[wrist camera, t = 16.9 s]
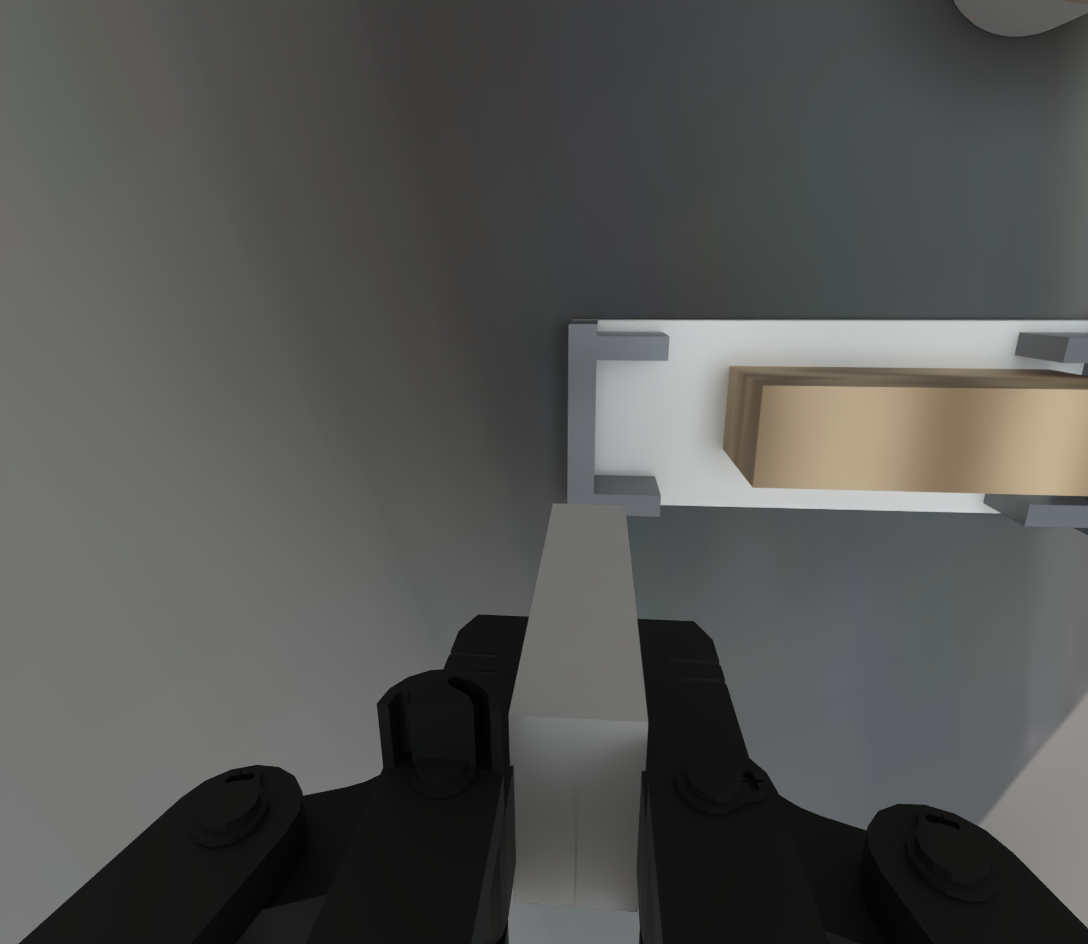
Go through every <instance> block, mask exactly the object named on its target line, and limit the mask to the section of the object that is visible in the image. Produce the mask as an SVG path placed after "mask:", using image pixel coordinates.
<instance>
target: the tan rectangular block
mask: <svg viewBox="0 0 1088 944" xmlns="http://www.w3.org/2000/svg"><path fill="white" fill-rule="evenodd" d="M723 450H724V451H725V453H726V454H727V455H728V457H729V458H730V459H731V460H732V462H733V463H734V464H735V466H736V467H737V468H738V469H739V471H740V472H741V473H742V475H743V476H744V477H745V479H746V480H747V481H748V482H749V484H750V485H751V486H752V488H788V489H827V490H865V491H904V492H942V493H981V494H1019V495H1058V496H1088V376H1084V375H1078V374H1073V373H1067V372H1061V371H1056V370H1050V369H973V368H878V367H784V366H730V371H729V383H728V394H727V406H726V417H725V429H724V440H723Z"/></svg>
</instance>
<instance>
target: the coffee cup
mask: <svg viewBox="0 0 1088 944" xmlns="http://www.w3.org/2000/svg"><path fill="white" fill-rule="evenodd" d="M953 1H954V3H955V4H956V6H957V7H958V9H959V10H960V12H961V13H962V14H963V15H964V16H965V17H966V18H967V19H968V20H969V21H970V22H972V23H973V24H974V25H976V26H977V27H979V28H981V29H983V30H985V31H987V32H990V33H993V34H996V35H1001V36H1009V37H1021V36H1029V35H1034V34H1039V33H1042V32H1045V31H1048V30H1051V29H1053V28H1055V27H1058V26H1060V25H1062V24H1064V23H1067V22H1069V21H1071V20H1073V19H1076V18H1078V17H1080V16H1082V15H1085V14H1087V13H1088V0H953Z"/></svg>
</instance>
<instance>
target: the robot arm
mask: <svg viewBox="0 0 1088 944" xmlns="http://www.w3.org/2000/svg"><path fill="white" fill-rule="evenodd" d="M377 710H378V720H379V729H380V739H381V749H382V759H383V769H382V772H381V774H380V775H379V776H376V777H374V778H372V779H370V780H368V781H366V782H363V783H359V784H356V785H352V786H349V787H345V788H340V789H335V790H330V791H325V792H320V793H315V794H310V795H305V796H303V794H302V790H301V788H300V786H299V784H298V782H297V780H296V778H295V776H294V775H292V774H290V773H288V772H286V771H285V770H283V769H281V768H279V767H273V766H262V765H254V766H248V767H243V768H237V769H232V770H229V771H227V772H225V773H222V774H220V775H218V776H215V777H213V778H211V779H208V780H206V781H204V782H203V783H201V784H200V785H199V786H197V787H196V788H194V789H193V790H192V791H190V792H189V793H187V794H186V795H185V796H183V797H182V798H180V799H179V800H178V801H177V802H176V803H175V804H174V805H173V806H172V807H170V808H169V809H168V810H167V811H166V812H165V813H164V814H163V815H162V816H160V817H159V818H158V819H157V820H156V821H155V822H154V823H153V824H151V825H150V826H149V827H148V828H147V829H146V830H145V831H144V832H143V833H141V834H140V835H139V836H138V837H137V838H136V839H135V840H134V841H133V842H131V843H130V844H129V845H128V846H127V847H126V848H125V849H124V850H123V851H121V852H120V853H119V854H118V855H117V856H116V857H115V858H114V859H113V860H111V861H110V862H109V863H108V864H107V865H106V866H105V867H104V868H102V869H101V870H100V871H99V872H98V873H97V874H96V875H95V876H94V877H92V878H91V879H90V880H89V881H88V882H87V883H86V884H85V885H84V886H82V887H81V888H80V889H79V890H78V891H77V892H76V893H75V894H74V895H72V896H71V897H70V898H69V899H68V900H67V901H66V902H65V903H64V904H62V905H61V906H60V907H59V908H58V909H57V910H56V911H55V912H53V913H52V914H51V915H50V916H49V917H48V918H47V919H46V920H45V921H43V922H42V923H41V924H40V925H39V926H38V927H37V928H36V929H35V930H33V931H32V932H31V933H30V934H29V935H28V936H27V937H26V938H25V939H23V940H22V941H21V942H20V943H19V944H509V940H508V915H509V908H510V901H511V894H512V887H513V902H519V903H531V904H543V905H555V906H568V907H580V908H592V909H604V910H616V911H629V912H638V903H639V920H640V936H639V944H1088V928H1087V927H1086V926H1085V925H1084V924H1083V923H1082V922H1081V921H1080V920H1079V919H1078V918H1077V917H1076V916H1075V915H1074V914H1073V913H1072V912H1071V911H1070V910H1069V909H1068V908H1067V907H1066V906H1065V905H1064V904H1063V903H1062V902H1061V901H1060V900H1059V899H1058V898H1057V897H1056V896H1055V895H1054V894H1053V893H1052V892H1051V891H1050V890H1049V889H1048V888H1047V887H1046V886H1045V885H1044V884H1043V883H1042V882H1041V881H1040V880H1039V879H1038V878H1037V877H1036V876H1035V875H1034V874H1033V873H1032V872H1031V870H1029V868H1028V867H1026V865H1025V864H1024V863H1023V862H1021V860H1020V859H1019V858H1018V857H1017V856H1016V855H1014V853H1013V852H1011V851H1010V850H1009V849H1008V848H1007V847H1005V846H1004V845H1003V844H1002V843H1000V842H999V841H998V840H997V839H996V838H994V837H993V836H992V835H991V834H989V833H988V832H987V831H986V830H984V829H982V828H980V827H978V826H977V825H975V824H973V823H971V822H969V821H967V820H965V819H963V818H962V817H960V816H958V815H956V814H954V813H950V812H947V811H944V810H940V809H937V808H934V807H930V806H927V805H916V804H896V805H894V806H891V807H888V808H886V809H883V810H880V811H878V812H877V814H876V815H875V817H874V818H873V820H872V821H871V822H870V824H869V825H868V828H867V831H866V830H863V829H860V828H857V827H853V826H850V825H847V824H844V823H841V822H838V821H835V820H832V819H829V818H825V817H822V816H819V815H817V814H815V813H812V812H810V811H807V810H805V809H802V808H800V807H798V806H797V805H795V804H793V803H792V802H790V801H788V800H787V799H785V798H783V797H781V796H780V795H779V794H778V792H777V790H776V788H775V787H774V785H773V783H772V781H771V780H770V778H769V776H768V775H767V773H766V772H765V771H764V770H763V769H761V768H760V767H759V766H758V765H757V764H756V763H754V762H753V761H752V760H751V759H750V758H749V756H748V753H747V749H746V746H745V743H744V740H743V736H742V733H741V730H740V727H739V724H738V720H737V717H736V714H735V711H734V707H733V704H732V701H731V698H730V694H729V691H728V688H727V685H726V684H725V678H724V675H723V672H722V669H721V666H719V659H718V656H717V652H716V649H715V646H714V643H713V640H712V639H711V638H710V637H709V636H708V635H707V634H706V633H705V632H704V631H703V630H702V629H701V628H700V627H699V626H698V625H697V624H696V623H695V622H694V621H673V620H649V619H637V612H636V603H635V594H634V584H633V575H632V566H631V556H630V547H629V538H628V528H627V519H626V510H625V505H594V504H556V503H553V506H552V511H551V516H550V520H549V525H548V530H547V535H546V539H545V544H544V549H543V554H542V558H541V563H540V568H539V573H538V577H537V582H536V587H535V592H534V596H533V601H532V606H531V611H530V615H529V617H523V616H500V615H477V616H476V617H475V618H473V619H472V620H471V621H470V622H469V623H468V624H466V625H465V626H464V627H463V628H462V629H461V630H460V631H459V632H458V634H457V637H456V639H455V642H454V644H453V647H452V649H451V655H449V657H448V659H447V662H446V664H445V667H444V669H443V670H430V671H427V672H423V673H420V674H417V675H414V676H410V677H408V678H406V679H404V680H403V681H401V682H399V683H398V684H396V685H395V686H393V687H391V688H390V689H389V690H388V691H387V692H386V693H385V695H384V696H383V697H382V698H381V699H380V701H379V702H378V703H377Z"/></svg>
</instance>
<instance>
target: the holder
mask: <svg viewBox="0 0 1088 944" xmlns="http://www.w3.org/2000/svg"><path fill="white" fill-rule="evenodd" d="M730 366H784V367H878V368H973V369H1050V370H1056V371H1061V372H1067V373H1073V374H1078V375H1084V376H1088V320H879V319H572V320H571V322H570V323H569V343H568V472H567V504H594V505H625V510H626V516H651V517H660V505H681V506H722V507H762V508H803V509H844V510H884V511H925V512H966V513H1002V514H1003V515H1005V516H1007V517H1009V518H1011V519H1012V520H1014V521H1016V522H1018V523H1020V524H1021V525H1023V526H1034V527H1072V528H1075V529H1077V530H1079V531H1081V532H1083V533H1085V534H1087V535H1088V496H1058V495H1019V494H981V493H942V492H904V491H865V490H827V489H788V488H752V486H751V485H750V484H749V482H748V481H747V480H746V479H745V477H744V476H743V475H742V473H741V472H740V471H739V469H738V468H737V467H736V466H735V464H734V463H733V462H732V460H731V459H730V458H729V457H728V455H727V454H726V453H725V451H724V450H723V440H724V429H725V417H726V406H727V394H728V383H729V371H730Z"/></svg>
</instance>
